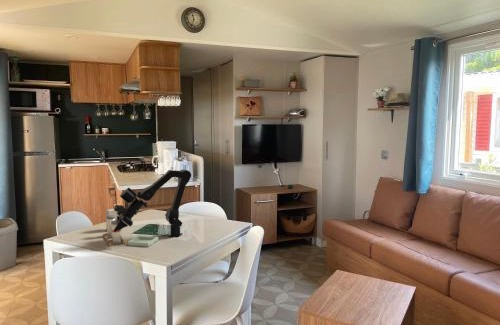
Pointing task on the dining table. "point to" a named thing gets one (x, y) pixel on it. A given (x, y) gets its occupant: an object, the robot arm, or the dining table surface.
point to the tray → (143, 241)
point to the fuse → (109, 225)
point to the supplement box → (111, 212)
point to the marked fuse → (115, 235)
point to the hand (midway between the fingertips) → (113, 230)
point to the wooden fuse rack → (111, 240)
